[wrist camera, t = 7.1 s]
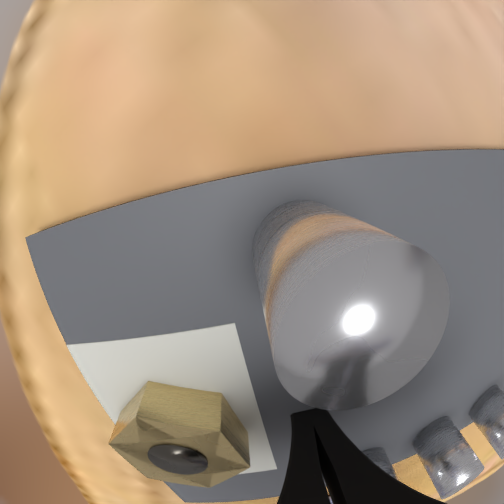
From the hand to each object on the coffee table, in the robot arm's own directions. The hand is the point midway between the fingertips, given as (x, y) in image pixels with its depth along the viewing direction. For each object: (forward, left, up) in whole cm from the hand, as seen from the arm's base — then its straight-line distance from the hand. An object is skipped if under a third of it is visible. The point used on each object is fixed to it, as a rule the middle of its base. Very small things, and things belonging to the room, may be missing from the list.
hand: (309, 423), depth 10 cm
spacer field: (0, -7, -1) cm, 7 cm away
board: (0, -5, -2) cm, 5 cm away
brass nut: (0, +5, -1) cm, 5 cm away
